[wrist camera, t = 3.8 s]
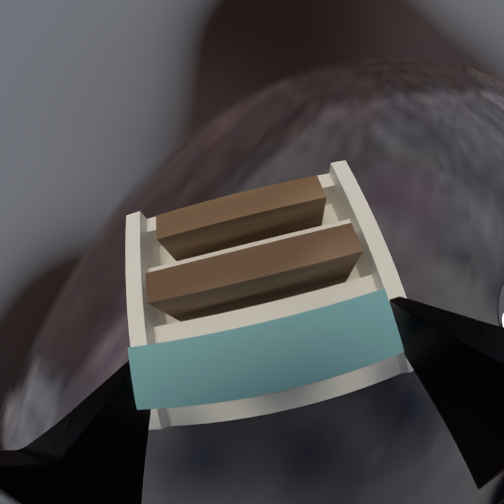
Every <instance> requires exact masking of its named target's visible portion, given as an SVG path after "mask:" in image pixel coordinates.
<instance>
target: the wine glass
mask: <svg viewBox="0 0 504 504" xmlns="http://www.w3.org/2000/svg"><path fill="white" fill-rule="evenodd" d="M498 318H499V325H500V327H504V283H503V284H502V287H501V290H500V294H499V301H498Z"/></svg>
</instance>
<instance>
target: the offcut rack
mask: <svg viewBox="0 0 504 504" xmlns="http://www.w3.org/2000/svg"><path fill="white" fill-rule="evenodd" d="M317 177H318V179H319V181H320V183H321V185H322V188H323V190H324V192H325V195H326V203H325V209H324V215H323V220H322V226H318V227H314V228H310V229H306V230H302V231H297V232H293V233H289V234H285V235H281V236H277V237H273V238H269V239H265V240H260V241H256V242H252V243H248V244H244V245H240V246H236V247H232V248H228V249H224V250H220V251H216V252H212V253H208V254H204V255H200V256H196V257H192V258H188V259H184V260H180V261H176V260H175V259H174V258H173V257H172V256H171V255H170V254H169V253H168V252H167V250H166V249H165V248H164V247H163V246H162V245H161V244H160V243H159V242H158V240H157V237H156V217H152V218H149V219H146V218H145V217H144V215H143V214H142V213H141V212H140V211H139V212H136V213H133V214H130V215H127V216H126V295H127V312H128V326H129V337H130V347H135V346H142V345H149V344H155V343H161V342H168V341H173V340H179V339H185V338H190V337H196V336H201V335H206V334H211V333H216V332H221V331H226V330H231V329H235V328H240V327H245V326H249V325H253V324H258V323H262V322H266V321H270V320H275V319H279V318H283V317H287V316H291V315H295V314H298V313H302V312H306V311H310V310H313V309H317V308H321V307H324V306H328V305H331V304H335V303H338V302H342V301H345V300H349V299H352V298H355V297H359V296H362V295H365V294H368V293H371V292H375V291H378V290H381V289H384V288H385V291H386V294H387V296H388V299H389V301H390V299H393V298H396V297H399V296H400V297H404V298H406V295H405V292H404V289H403V286H402V284H401V281H400V278H399V276H398V273H397V270H396V268H395V265H394V263H393V260H392V258H391V255H390V253H389V250H388V248H387V245H386V243H385V241H384V238H383V236H382V234H381V231H380V229H379V227H378V225H377V223H376V220H375V218H374V216H373V214H372V212H371V210H370V207H369V205H368V203H367V201H366V199H365V197H364V195H363V193H362V191H361V189H360V187H359V185H358V183H357V181H356V179H355V177H354V176H353V174H352V172H351V170H350V168H349V166H348V164H347V162H346V161H339V162H333V163H331V164H330V171H329V174H324V175H319V176H317ZM348 223H352V225H353V228H354V230H355V232H356V235H357V237H358V240H359V242H360V245H361V247H362V250H363V252H362V254H361V255H360V257H359V259H358V261H357V263H356V265H355V266H354V268H353V270H352V272H351V274H350V275H349V277H348V279H347V281H346V282H344V283H341V284H337V285H334V286H330V287H327V288H323V289H319V290H316V291H312V292H308V293H304V294H300V295H297V296H293V297H289V298H285V299H281V300H277V301H273V302H269V303H264V304H260V305H256V306H252V307H248V308H243V309H239V310H234V311H230V312H225V313H221V314H216V315H212V316H207V317H202V318H197V319H192V320H187V321H182V322H180V321H179V320H177V319H175V318H173V317H171V316H169V315H168V314H166V313H164V312H162V311H160V310H159V309H157V308H155V307H153V306H152V305H150V304H148V303H147V290H146V275H145V273H149V272H153V271H157V270H161V269H165V268H169V267H173V266H177V265H181V264H185V263H189V262H193V261H197V260H201V259H205V258H209V257H213V256H217V255H221V254H225V253H229V252H233V251H237V250H241V249H245V248H249V247H253V246H257V245H262V244H266V243H270V242H274V241H278V240H282V239H286V238H290V237H294V236H298V235H302V234H307V233H311V232H315V231H319V230H323V229H327V228H331V227H335V226H340V225H344V224H348ZM412 371H414V369H413V368H412V366H411V365H410V363H409V362H408V360H407V358H406V357H405V355H404V353H400V354H398V355H395V356H393V357H390V358H388V359H385V360H382V361H380V362H377V363H374V364H372V365H369V366H366V367H363V368H360V369H357V370H354V371H351V372H348V373H345V374H342V375H339V376H335V377H332V378H329V379H325V380H322V381H318V382H314V383H311V384H307V385H303V386H299V387H295V388H291V389H287V390H283V391H278V392H274V393H269V394H264V395H259V396H254V397H249V398H243V399H238V400H231V401H225V402H218V403H211V404H203V405H195V406H185V407H174V408H161V409H151V414H150V422H149V429H163V428H166V427H169V426H182V425H195V424H205V423H214V422H222V421H230V420H237V419H243V418H249V417H255V416H260V415H266V414H271V413H275V412H280V411H285V410H289V409H293V408H297V407H302V406H306V405H309V404H313V403H317V402H320V401H324V400H327V399H331V398H334V397H337V396H341V395H344V394H347V393H350V392H353V391H356V390H359V389H362V388H365V387H368V386H370V385H373V384H376V383H378V382H381V381H384V380H386V379H389V378H391V377H394V376H396V375H399V374H401V373H410V372H412Z"/></svg>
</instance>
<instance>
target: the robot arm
mask: <svg viewBox="0 0 504 504" xmlns="http://www.w3.org/2000/svg"><path fill="white" fill-rule="evenodd" d="M389 302H390V305H391V308H392V312H393V315H394V318H395V321H396V324H397V328H398V331H399V334H400V338H401V341H402V345H403V349H404V352H403V353H404V355H405V357H406V358H407V360H408V362H409V363H410V365H411V366H412V368H413V369H414V371H415V373H416V374H417V376H418V378H419V379H420V381H421V382H422V384H423V386H424V387H425V389H426V391H427V392H428V394H429V396H430V397H431V399H432V401H433V403H434V404H435V406H436V408H437V409H438V411H439V413H440V415H441V417H442V418H443V420H444V422H445V424H446V426H447V427H448V429H449V431H450V433H451V435H452V437H453V438H454V440H455V442H456V444H457V446H458V448H459V450H460V452H461V454H462V456H463V458H464V460H465V462H466V464H467V466H468V468H469V470H470V473H471V475H472V477H473V479H474V481H475V483H476V485H477V487H478V489H481V488H482V487H483V486H485V485H486V484H487V483H489V482H490V481H491V480H493V479H494V478H495V477H496V476H498V475H499V474H500V473H501V472H503V471H504V327H500V326H496V325H492V324H489V323H485V322H482V321H479V320H478V321H477V320H476V319H472V318H469V317H466V316H463V315H459V314H456V313H453V312H449V311H446V310H443V309H440V308H436V307H433V306H430V305H427V304H423V303H420V302H417V301H413V300H410V299H407V298H404V297H400V296H399V297H396V298H393V299H390V301H389ZM150 414H151V409H142V410H137V408H136V402H135V397H134V391H133V384H132V378H131V371H130V363H129V361H128V362H127V363H125V364H124V365H123V366H122V367H121V368H120V369H119V370H118V371H116V372H115V373H114V374H113V375H112V376H111V377H110V378H108V379H107V380H106V381H105V382H104V383H103V384H102V385H100V386H99V387H98V388H97V389H96V390H95V391H94V392H92V393H91V394H90V395H89V396H88V397H87V398H86V399H84V400H83V401H82V402H81V403H80V404H79V405H78V406H77V407H75V408H74V409H73V410H72V411H71V412H70V413H68V414H67V415H66V416H65V417H64V418H63V419H62V420H60V421H59V422H58V423H57V424H56V425H54V426H53V427H52V428H50V429H49V430H48V431H47V432H45V433H44V434H42V435H41V436H40V437H38V438H37V439H36V440H34V441H33V442H32V443H30V444H29V445H27V446H26V447H24V448H22V449H19V450H0V504H141V502H142V488H143V475H144V465H145V455H146V446H147V438H148V430H149V422H150ZM498 504H504V489H503V492H502V495H501V498H500V501H499V503H498Z"/></svg>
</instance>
